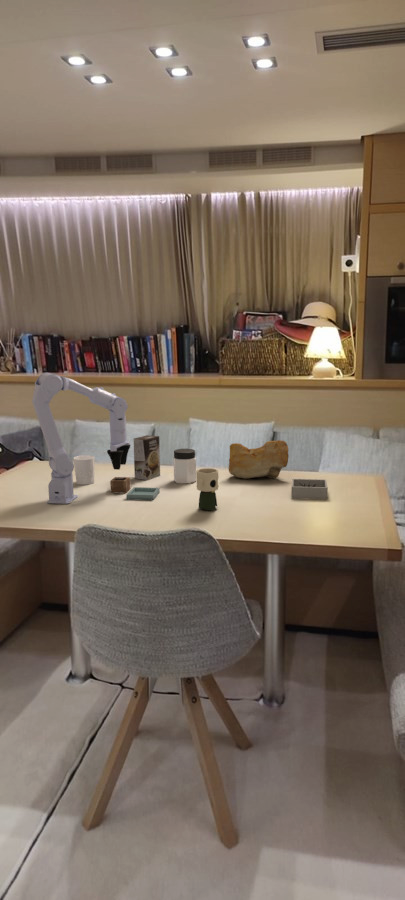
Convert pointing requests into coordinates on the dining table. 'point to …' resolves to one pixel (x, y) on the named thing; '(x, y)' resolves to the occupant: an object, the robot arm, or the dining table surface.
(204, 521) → the dining table surface
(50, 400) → the robot arm
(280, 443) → the rough brown rock
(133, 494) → the tray
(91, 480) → the white cup
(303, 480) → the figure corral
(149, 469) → the coffee box
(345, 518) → the dining table surface
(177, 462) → the jar
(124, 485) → the collar
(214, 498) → the character mug
